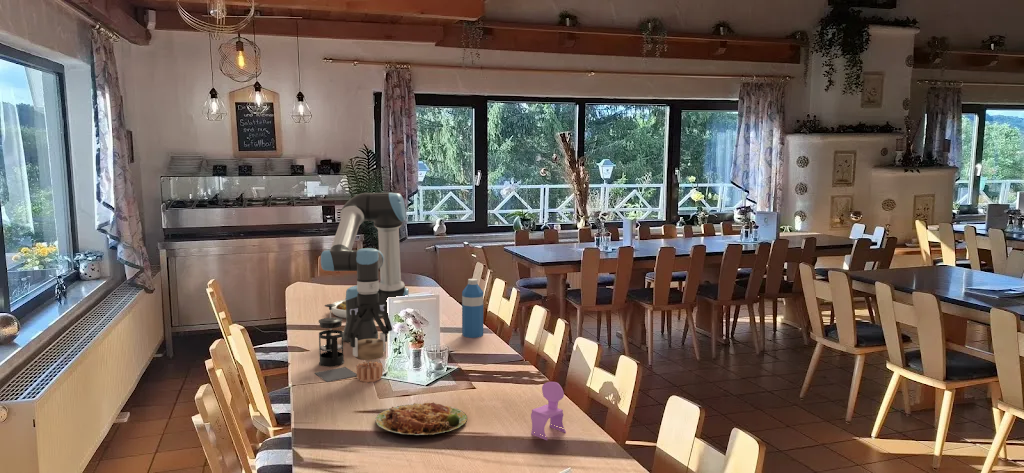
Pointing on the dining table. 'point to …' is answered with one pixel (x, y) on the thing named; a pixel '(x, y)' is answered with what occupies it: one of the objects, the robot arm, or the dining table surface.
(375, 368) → the orange ridged cylinder
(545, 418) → the toy chair
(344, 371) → the mat
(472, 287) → the water bottle
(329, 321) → the french press
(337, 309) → the bowl
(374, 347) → the tan squat cylinder
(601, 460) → the dining table surface
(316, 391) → the dining table surface
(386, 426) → the rice dish
